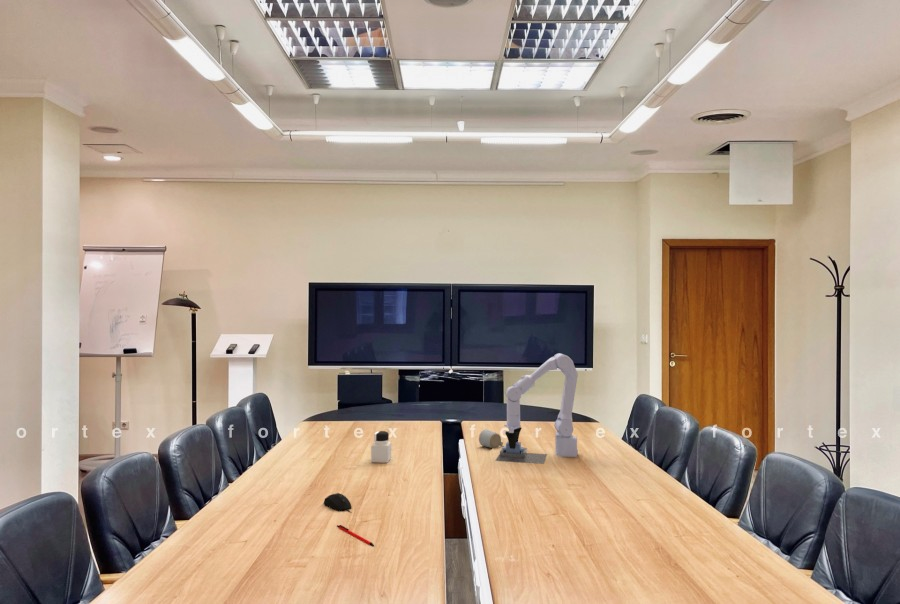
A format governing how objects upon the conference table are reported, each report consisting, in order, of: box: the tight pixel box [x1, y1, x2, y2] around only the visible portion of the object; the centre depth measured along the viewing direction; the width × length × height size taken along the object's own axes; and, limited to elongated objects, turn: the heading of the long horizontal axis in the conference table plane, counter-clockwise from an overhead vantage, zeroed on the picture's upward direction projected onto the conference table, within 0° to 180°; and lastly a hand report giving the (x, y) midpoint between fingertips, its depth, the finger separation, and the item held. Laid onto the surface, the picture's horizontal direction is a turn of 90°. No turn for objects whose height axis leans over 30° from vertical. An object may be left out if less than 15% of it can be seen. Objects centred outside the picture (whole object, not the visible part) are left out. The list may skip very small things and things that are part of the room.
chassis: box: [495, 446, 548, 465], centre depth 240 cm, size 20×16×3 cm
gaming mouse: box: [323, 492, 352, 514], centre depth 182 cm, size 6×15×4 cm, turn 40°
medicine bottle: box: [370, 430, 392, 464], centre depth 238 cm, size 7×7×12 cm
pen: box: [336, 524, 375, 547], centre depth 159 cm, size 1×19×1 cm, turn 42°
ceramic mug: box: [478, 428, 504, 449], centre depth 262 cm, size 11×8×8 cm
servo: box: [502, 441, 525, 454], centre depth 244 cm, size 9×4×6 cm, turn 77°
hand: (513, 446), depth 244 cm, fingers open, 7 cm apart
